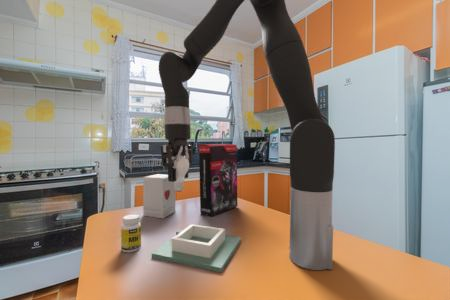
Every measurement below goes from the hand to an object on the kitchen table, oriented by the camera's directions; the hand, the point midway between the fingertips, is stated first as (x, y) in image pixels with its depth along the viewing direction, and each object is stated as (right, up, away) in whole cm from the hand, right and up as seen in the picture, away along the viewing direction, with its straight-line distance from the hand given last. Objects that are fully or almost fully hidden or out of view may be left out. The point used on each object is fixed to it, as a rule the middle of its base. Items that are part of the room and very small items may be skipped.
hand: (178, 179), depth 66 cm
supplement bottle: (-11, -17, -8) cm, 22 cm away
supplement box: (-12, -16, +20) cm, 28 cm away
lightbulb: (0, -4, 0) cm, 4 cm away
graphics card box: (+11, -16, +24) cm, 31 cm away
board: (+7, -17, -8) cm, 20 cm away
